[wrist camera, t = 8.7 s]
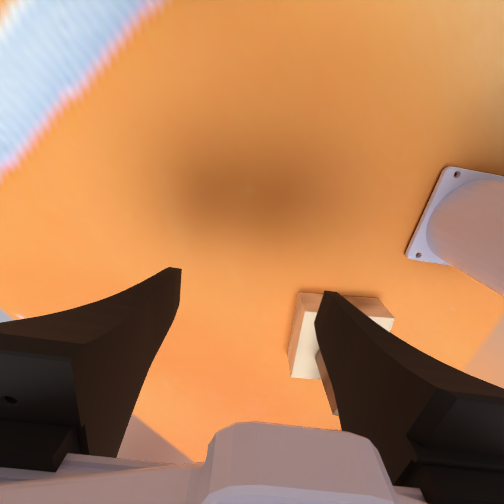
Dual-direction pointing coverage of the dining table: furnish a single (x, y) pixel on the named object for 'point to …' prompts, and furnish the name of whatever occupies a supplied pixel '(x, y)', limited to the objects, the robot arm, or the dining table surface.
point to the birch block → (304, 334)
